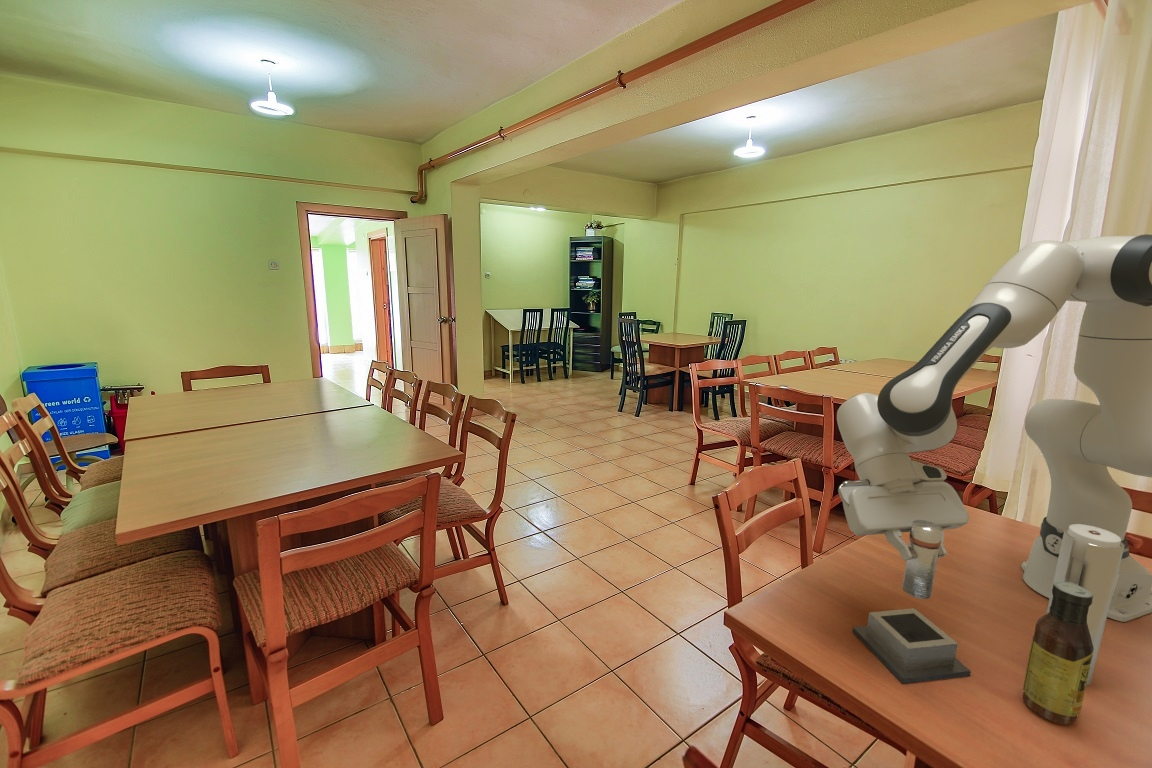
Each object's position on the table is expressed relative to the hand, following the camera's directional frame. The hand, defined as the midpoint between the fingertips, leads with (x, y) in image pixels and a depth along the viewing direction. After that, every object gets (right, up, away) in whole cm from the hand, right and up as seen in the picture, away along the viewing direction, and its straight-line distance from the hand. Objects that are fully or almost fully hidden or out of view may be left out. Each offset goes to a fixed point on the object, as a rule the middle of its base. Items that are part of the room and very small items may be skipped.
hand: (925, 558), depth 81 cm
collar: (0, -18, +4) cm, 18 cm away
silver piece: (+23, -19, 0) cm, 30 cm away
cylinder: (0, -6, +2) cm, 7 cm away
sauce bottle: (+14, -20, -7) cm, 25 cm away
